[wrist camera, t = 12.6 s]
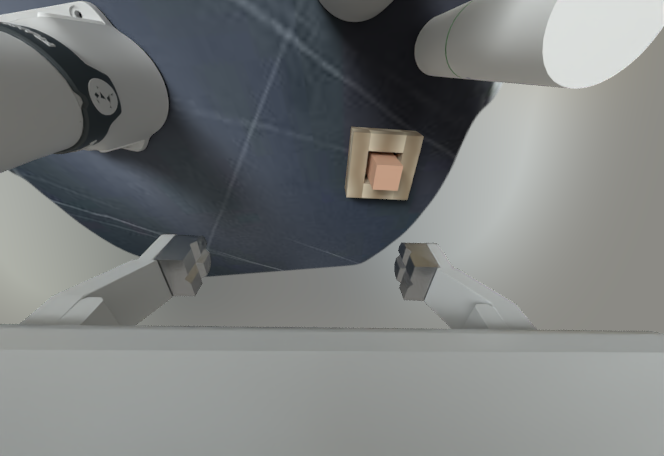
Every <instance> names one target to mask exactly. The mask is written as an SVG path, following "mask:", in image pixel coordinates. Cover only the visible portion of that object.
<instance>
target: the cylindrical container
mask: <svg viewBox="0 0 664 456" xmlns="http://www.w3.org/2000/svg"><path fill="white" fill-rule="evenodd" d="M663 26H664V0H472V1H470V2H467V3H465V4H463V5H461V6H458V7H456V8H454V9H452V10H449V11H447V12H445V13H443V14H441V15H438V16H436V17H434V18H432V19H431V20H430V21H428V22H427V23H426V24H425V26H424V27H423V28H422V30H421V31H420V33H419V35H418V37H417V40H416V43H415V53H414V55H415V61H416V63H417V66H418V67H419V69H420V70H421V71H422V72H423V73H425V74H426V75H429V76H437V77H449V78H460V79H471V80H482V81H494V82H505V83H516V84H527V85H538V86H551V87H561V88H578V89H579V88H585V87H590V86H593V85H596V84H598V83H601V82H603V81H605V80H607V79H609V78H611V77H613V76H614V75H616V74H617V73H619V72H620V71H622V70H623V69H624V68H626V67H627V66H628V65H629V64H631V63H632V62H633V61H634V60H635V59H636V58H637V57H638V56H639V55H641V54H642V52H643V51H644V50H645V49H646V48H647V47H648V46H649V45H650V44H651V42H652V41H653V40H654V39H655V37H656V36H657V35H658V33H659V32H660V30H661V29H662V28H663Z"/></svg>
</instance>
